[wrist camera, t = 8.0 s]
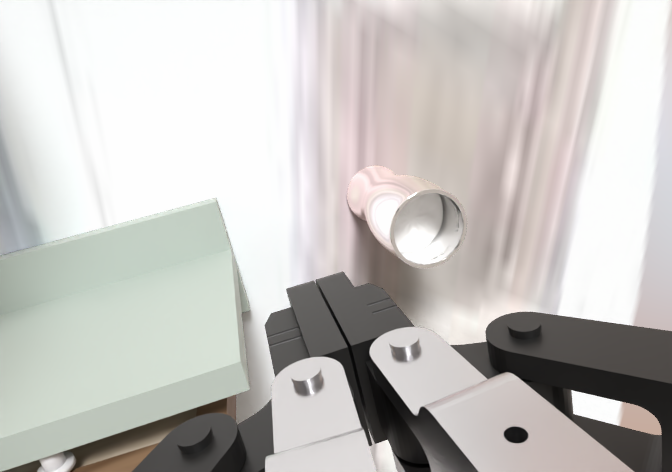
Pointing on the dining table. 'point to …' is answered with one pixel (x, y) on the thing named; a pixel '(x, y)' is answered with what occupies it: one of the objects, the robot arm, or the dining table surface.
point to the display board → (117, 332)
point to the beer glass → (408, 215)
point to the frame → (132, 442)
